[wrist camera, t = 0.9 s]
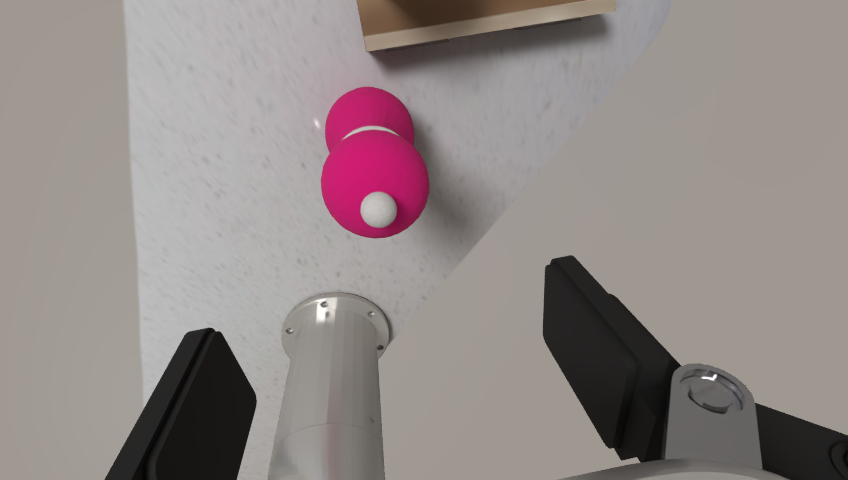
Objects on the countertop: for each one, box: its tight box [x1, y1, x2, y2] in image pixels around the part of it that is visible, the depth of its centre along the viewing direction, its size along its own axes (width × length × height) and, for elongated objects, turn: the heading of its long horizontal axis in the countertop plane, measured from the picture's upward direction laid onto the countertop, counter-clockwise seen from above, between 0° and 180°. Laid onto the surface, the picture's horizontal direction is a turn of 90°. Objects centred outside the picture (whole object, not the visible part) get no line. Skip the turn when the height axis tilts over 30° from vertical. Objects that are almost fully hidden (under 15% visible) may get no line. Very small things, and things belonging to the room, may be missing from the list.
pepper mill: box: [321, 87, 429, 238], centre depth 26 cm, size 7×7×20 cm
